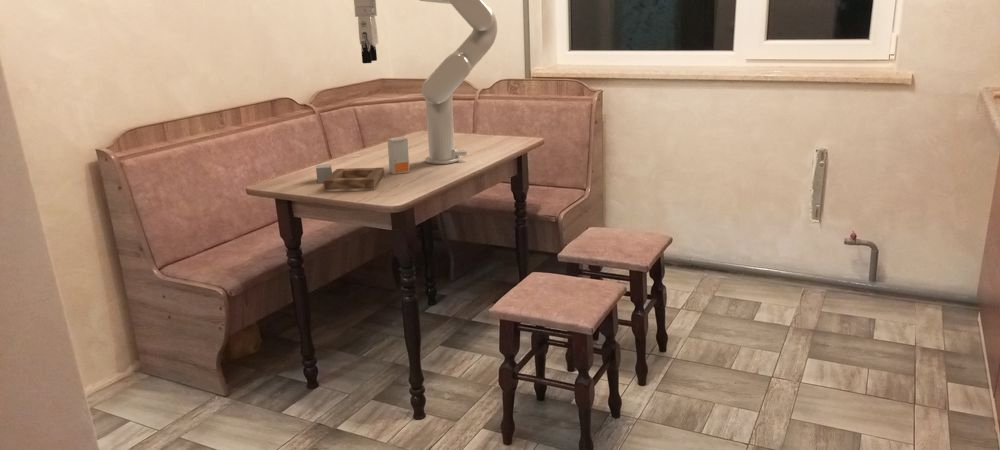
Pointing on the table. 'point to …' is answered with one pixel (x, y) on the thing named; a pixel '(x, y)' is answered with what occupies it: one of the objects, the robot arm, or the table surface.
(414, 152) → the table surface
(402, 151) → the skincare box
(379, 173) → the socket block
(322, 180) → the grey cube
